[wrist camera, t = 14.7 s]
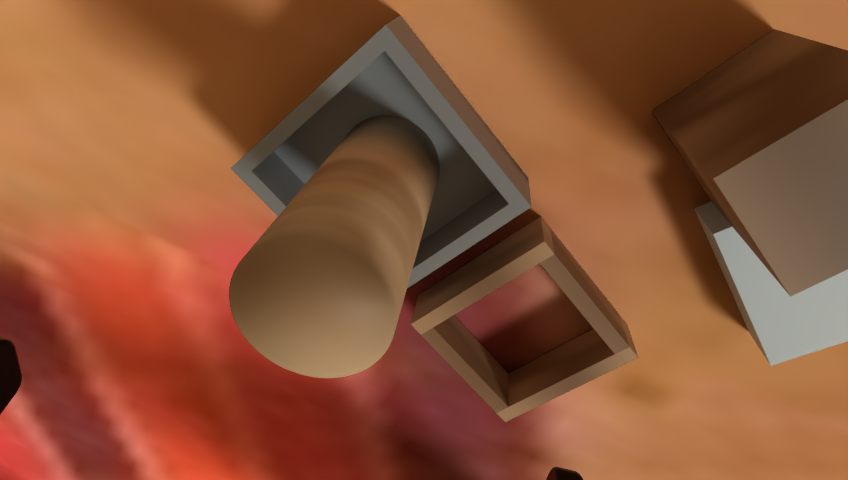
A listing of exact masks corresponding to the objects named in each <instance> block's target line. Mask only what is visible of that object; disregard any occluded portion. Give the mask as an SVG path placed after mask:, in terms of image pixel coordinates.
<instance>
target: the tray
mask: <svg viewBox="0 0 848 480" xmlns="http://www.w3.org/2000/svg"><path fill="white" fill-rule="evenodd" d="M383 115H389V116H396V117H401V118H404V119H406V120H409V121H410V122H412V123H414V124H416V125H417V126H418V127H420V128H421V129H422V130H423V131H424V132H425V133H426V134H427V135H428V136H429V138H430V139H431V141H432V142H433V144H434V146H435V148H436V151H437V154H438V158H439V176H438V180H437V184H436V188H435V191H434V195H433V198H432V202H431V205H430V209H429V212H428V216H427V219H426V223H425V226H424V230H423V233H422V237H421V241H420V244H419V248H418V251H417V255H416V258H415V262H414V265H413V269H412V272H411V276H410V279H409V283H408V286H407V288H409V287H410V286H412V285H413V284H415V283H416V282H418V281H419V280H421V279H422V278H424V277H425V276H427V275H429V274H430V273H432V272H433V271H435V270H436V269H438V268H439V267H441V266H442V265H444V264H445V263H447V262H448V261H450V260H451V259H453V258H454V257H456V256H457V255H459V254H461V253H462V252H464V251H465V250H467V249H468V248H470V247H471V246H473V245H474V244H476V243H477V242H479V241H480V240H482V239H483V238H485V237H486V236H488V235H489V234H491V233H493V232H494V231H496V230H497V229H499V228H500V227H502V226H503V225H505V224H506V223H508V222H509V221H511V220H512V219H514V218H515V217H517V216H518V215H520V214H521V213H523V212H525V211H526V210H528V209H529V208H531V199H530V190H529V181H528V177H527V176H526V175H525V173H524V172H523V171H522V170H521V168H520V167H519V166H518V165H517V163H516V162H515V161H514V159H513V158H512V157H511V156H510V154H509V153H508V152H507V150H506V149H505V148H504V147H503V145H502V144H501V143H500V142H499V140H498V139H497V138H496V136H495V135H494V134H493V133H492V131H491V130H490V129H489V128H488V126H487V125H486V124H485V122H484V121H483V120H482V119H481V117H480V116H479V115H478V114H477V112H476V111H475V110H474V108H473V107H472V106H471V105H470V103H469V102H468V101H467V99H466V98H465V97H464V96H463V94H462V93H461V92H460V91H459V89H458V88H457V87H456V85H455V84H454V83H453V82H452V80H451V79H450V78H449V77H448V75H447V74H446V73H445V71H444V70H443V69H442V68H441V66H440V65H439V64H438V63H437V61H436V60H435V59H434V57H433V56H432V55H431V54H430V52H429V51H428V50H427V48H426V47H425V46H424V45H423V43H422V42H421V41H420V40H419V38H418V37H417V36H416V34H415V33H414V32H413V31H412V29H411V28H410V27H409V26H408V24H407V23H406V22H405V20H404V19H403V18H402V17H401V15H400V16H398V17H397V18H395V19H394V20H392V21H390V22H389V23H387V24H386V25H385V26H384V27H383V28H381V29H380V30H379V31H378V32H377V33H376V34H375V35H374V36H373V37H372V38H371V39H370V40H369V41H367V42H366V43H365V44H364V45H363V46H362V47H361V48H360V49H359V50H358V51H357V52H356V53H354V54H353V55H352V56H351V57H350V58H349V59H348V60H347V61H346V62H345V63H344V64H343V65H342V66H340V67H339V68H338V69H337V70H336V71H335V72H334V73H333V74H332V75H331V76H330V77H329V78H327V79H326V80H325V81H324V82H323V83H322V84H321V85H320V86H319V87H318V88H317V89H316V90H315V91H313V92H312V93H311V94H310V95H309V96H308V97H307V98H306V99H305V100H304V101H303V102H302V103H300V104H299V105H298V106H297V107H296V108H295V109H294V110H293V111H292V112H291V113H290V114H289V115H288V116H286V117H285V118H284V119H283V120H282V121H281V122H280V123H279V124H278V125H277V126H276V127H275V128H273V129H272V130H271V131H270V132H269V133H268V134H267V135H266V136H265V137H264V138H263V139H262V140H261V141H259V142H258V143H257V144H256V145H255V146H254V147H253V148H252V149H251V150H250V151H249V152H248V153H247V154H245V155H244V156H243V157H242V158H241V159H240V160H239V161H238V162H237V163H236V164H235V165H234V166H232V167H231V169H232V170H233V171H234V172H235V173H236V174H237V175H238V176H239V177H240V178H241V179H242V180H243V181H244V182H245V183H246V184H247V185H248V186H249V187H250V188H251V189H252V190H253V191H254V192H255V193H256V194H257V195H258V196H259V197H260V198H261V199H262V200H263V201H264V203H265V204H266V205H267V206H268V207H269V208H270V209H271V210H272V211H273V212H274V213H275V214H276V215H277V216H279V215H280V214H281V213H282V211H283V210H284V209H285V208H286V207H287V205H288V204H289V203H290V202H291V201H292V199H293V198H294V197H295V196H296V195H297V194H298V192H299V191H300V190H301V189H302V188H303V186H304V185H305V184H306V183H307V182H308V181H309V179H310V178H311V177H312V176H313V175H314V173H315V172H316V171H317V170H318V169H319V168H320V166H321V165H322V164H323V163H324V162H325V160H326V159H327V158H328V157H329V156H330V155H331V153H332V152H333V151H334V150H335V149H336V147H337V146H338V145H339V144H340V143H341V141H342V140H343V139H344V138H345V137H346V136H347V134H348V133H349V132H350V131H351V130H352V129H353V128H354V127H355V126H356V125H357V124H359V123H360V122H362V121H364V120H366V119H368V118H372V117H375V116H383Z"/></svg>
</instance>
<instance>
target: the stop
mask: <svg viewBox="0 0 848 480" xmlns="http://www.w3.org/2000/svg"><path fill="white" fill-rule="evenodd" d="M651 112H652V113H653V115H654V116H655V118H656V119H657V121H658V122H659V124H660V125H661V127H662V128H663V130H664V131H665V133H666V134H667V136H668V137H669V139H670V140H671V142H672V143H673V145H674V146H675V148H676V149H677V151H678V152H679V154H680V155H681V157H682V158H683V160H684V161H685V163H686V164H687V166H688V167H689V169H690V170H691V172H692V173H693V175H694V176H695V178H696V179H697V181H698V182H699V184H700V185H701V187H702V188H703V190H704V191H705V193H706V194H707V196H708V197H709V199H710V200H711V202H712V203H713V204H714V205H715V206H716V208H717V209H718V210H719V211H720V212H721V214H722V215H723V216H724V217H725V218H726V220H727V221H728V222H729V223H730V225H731V226H732V227H733V228H734V229H735V231H736V232H737V233H738V234H739V235H740V237H741V238H742V239H743V240H744V241H745V243H746V244H747V245H748V246H749V247H750V249H751V250H752V251H753V252H754V253H755V255H756V256H757V257H758V258H759V259H760V261H761V262H762V263H763V264H764V265H765V267H766V268H767V269H768V270H769V271H770V273H771V274H772V275H773V276H774V277H775V279H776V280H777V281H778V282H779V284H780V285H781V286H782V287H783V288H784V290H785V291H786V292H787V293H788V294H789V296H790V297H791V296H793V295H795V294H797V293H799V292H801V291H803V290H806V289H808V288H810V287H812V286H814V285H816V284H818V283H820V282H822V281H825V280H827V279H829V278H831V277H833V276H835V275H837V274H839V273H841V272H843V271H846V270H848V51H847V50H843V49H840V48H837V47H833V46H830V45H826V44H823V43H819V42H816V41H813V40H809V39H806V38H802V37H799V36H795V35H792V34H789V33H785V32H782V31H778V30H775V29H774V30H772V31H771V32H769V33H768V34H766V35H765V36H763V37H762V38H760V39H759V40H757V41H756V42H754V43H753V44H751V45H750V46H748V47H747V48H745V49H744V50H742V51H741V52H739V53H738V54H736V55H735V56H734V57H732V58H731V59H729V60H728V61H726V62H725V63H723V64H722V65H720V66H719V67H717V68H716V69H714V70H713V71H711V72H710V73H708V74H707V75H705V76H704V77H702V78H701V79H699V80H698V81H696V82H695V83H693V84H692V85H690V86H689V87H687V88H686V89H684V90H683V91H681V92H680V93H678V94H677V95H675V96H674V97H672V98H671V99H669V100H668V101H666V102H665V103H663V104H662V105H660V106H659V107H657V108H656V109H654V110H653V111H651Z"/></svg>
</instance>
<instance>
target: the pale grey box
mask: <svg viewBox="0 0 848 480" xmlns="http://www.w3.org/2000/svg"><path fill="white" fill-rule="evenodd" d="M694 210H695V212H696V214H697V216H698V219H699V221H700V223H701V225H702V228H703V230H704V232H705V234H706V237H707V239H708V241H709V243H710V246H711V248H712V250H713V252H714V255H715V257H716V259H717V261H718V264H719V266H720V268H721V270H722V273H723V275H724V277H725V279H726V282H727V284H728V286H729V288H730V291H731V293H732V295H733V297H734V300H735V302H736V304H737V306H738V309H739V311H740V313H741V315H742V318H743V320H744V322H745V324H746V327H747V329H748V331H749V333H750V334H751V336H752V337H753V339H754V340H755V342H756V344H757V345H758V347H759V348H760V350H761V351H762V353H763V354H764V356H765V357H766V359H767V360H768V362H769V364H770V365H775V364H778V363H781V362H784V361H787V360H790V359H793V358H797V357H800V356H803V355H806V354H809V353H812V352H815V351H818V350H822V349H825V348H828V347H831V346H834V345H837V344H840V343H843V342H847V341H848V270H846V271H843V272H841V273H839V274H837V275H835V276H833V277H831V278H829V279H827V280H825V281H822V282H820V283H818V284H816V285H814V286H812V287H810V288H808V289H806V290H803V291H801V292H799V293H797V294H795V295H793V296H791V297H790V296H789V294H788V293H787V292H786V291H785V290H784V288H783V287H782V286H781V285H780V284H779V282H778V281H777V280H776V279H775V277H774V276H773V275H772V274H771V273H770V271H769V270H768V269H767V268H766V267H765V265H764V264H763V263H762V262H761V261H760V259H759V258H758V257H757V256H756V255H755V253H754V252H753V251H752V250H751V249H750V247H749V246H748V245H747V244H746V243H745V241H744V240H743V239H742V238H741V237H740V235H739V234H738V233H737V232H736V231H735V229H734V228H733V227H732V226H731V225H730V223H729V222H728V221H727V220H726V218H725V217H724V216H723V215H722V214H721V212H720V211H719V210H718V209H717V208H716V206H715V205H714V204H713V203H712V202H711V201H710V202H708V203H706V204H703V205H701V206H699V207H696V208H694Z"/></svg>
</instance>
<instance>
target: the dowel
mask: <svg viewBox="0 0 848 480" xmlns="http://www.w3.org/2000/svg"><path fill="white" fill-rule="evenodd" d="M438 176H439V158H438V154H437V151H436V148H435V146H434V144H433V142H432V141H431V139H430V138H429V136H428V135H427V134H426V133H425V132H424V131H423V130H422V129H421V128H420V127H418V126H417V125H416V124H414V123H412V122H410V121H409V120H406V119H404V118H401V117H396V116H389V115H383V116H375V117H372V118H368V119H366V120H364V121H362V122H360V123H359V124H357V125H356V126H355V127H354V128H353V129H352V130H351V131H350V132H349V133H348V134H347V136H346V137H345V138H344V139H343V140H342V141H341V143H340V144H339V145H338V146H337V147H336V149H335V150H334V151H333V152H332V153H331V155H330V156H329V157H328V158H327V159H326V160H325V162H324V163H323V164H322V165H321V166H320V168H319V169H318V170H317V171H316V172H315V173H314V175H313V176H312V177H311V178H310V179H309V181H308V182H307V183H306V184H305V185H304V186H303V188H302V189H301V190H300V191H299V192H298V194H297V195H296V196H295V197H294V198H293V199H292V201H291V202H290V203H289V204H288V205H287V207H286V208H285V209H284V210H283V211H282V213H281V214H280V215H279V216H278V217H277V218H276V220H275V221H274V222H273V223H272V224H271V226H270V227H269V228H268V229H267V230H266V231H265V233H264V234H263V235H262V236H261V237H260V239H259V240H258V241H257V242H256V243H255V244H254V246H253V247H252V248H251V249H250V250H249V252H248V253H247V254H246V255H245V256H244V257H243V259H242V260H241V261H240V262H239V264H238V265H237V267H236V269H235V270H234V273H233V275H232V278H231V282H230V287H229V301H230V307H231V311H232V315H233V317H234V320H235V322H236V324H237V326H238V328H239V329H240V331H241V333H242V334H243V336H244V337H245V338H246V340H247V341H248V342H249V343H250V344H251V345H252V346H253V347H254V348H255V349H256V350H257V351H258V352H259V353H260V354H262V355H263V356H264V357H266V358H267V359H268V360H270V361H271V362H273V363H275V364H277V365H278V366H280V367H282V368H285V369H287V370H289V371H292V372H295V373H298V374H301V375H305V376H310V377H317V378H339V377H345V376H349V375H353V374H356V373H359V372H361V371H363V370H365V369H367V368H369V367H370V366H372V365H373V364H374V363H376V362H377V361H378V360H379V359H380V358H381V357H382V356H383V355H384V353H385V352H386V351H387V349H388V347H389V346H390V344H391V341H392V339H393V336H394V332H395V329H396V325H397V322H398V318H399V315H400V311H401V308H402V304H403V301H404V297H405V294H406V290H407V286H408V283H409V279H410V276H411V272H412V269H413V265H414V262H415V258H416V255H417V251H418V248H419V244H420V241H421V237H422V233H423V230H424V226H425V223H426V219H427V216H428V212H429V209H430V205H431V202H432V198H433V195H434V191H435V188H436V184H437V180H438Z"/></svg>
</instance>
